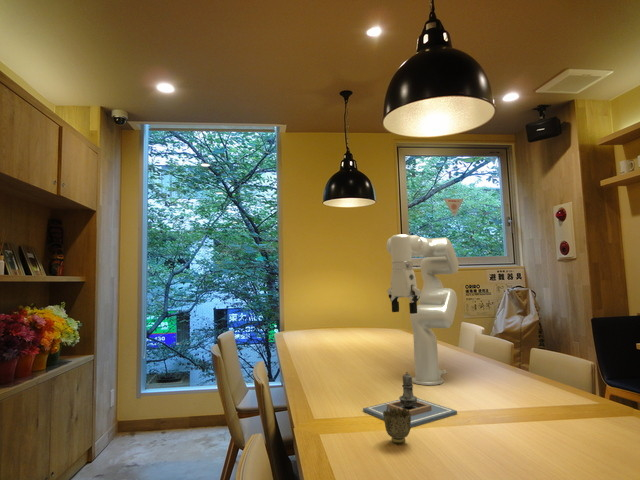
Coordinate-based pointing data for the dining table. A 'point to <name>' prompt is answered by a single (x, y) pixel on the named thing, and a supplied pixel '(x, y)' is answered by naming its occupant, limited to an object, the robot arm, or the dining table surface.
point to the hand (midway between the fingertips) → (404, 312)
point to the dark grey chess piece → (408, 393)
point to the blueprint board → (414, 411)
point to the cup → (397, 424)
